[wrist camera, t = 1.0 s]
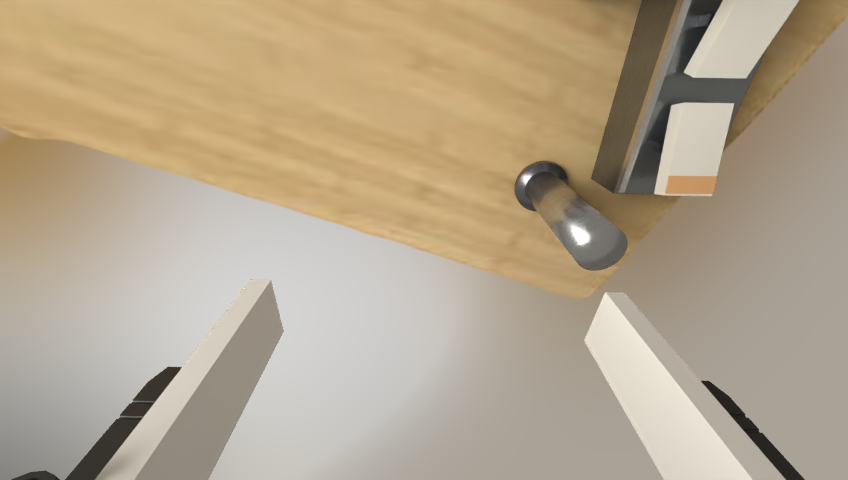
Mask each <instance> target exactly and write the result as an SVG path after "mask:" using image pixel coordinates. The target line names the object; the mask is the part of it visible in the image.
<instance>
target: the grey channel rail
mask: <svg viewBox="0 0 848 480" xmlns="http://www.w3.org/2000/svg"><path fill="white" fill-rule="evenodd" d="M722 1H723V0H642V3H641V7H640V10H639V14H638V17H637V20H636V24H635V27H634V31H633V34H632V38H631V41H630V45H629V48H628V52H627V55H626V59H625V62H624V66H623V69H622V73H621V76H620V80H619V83H618V87H617V90H616V94H615V97H614V101H613V104H612V108H611V111H610V115H609V118H608V122H607V125H606V129H605V132H604V136H603V139H602V143H601V146H600V150H599V153H598V156H597V160H596V163H595V167H594V170H593V174H592V177H591V179H593V180H594V181H596V182H597V183H599V184H600V185H602V186H603V187H605V188H606V189H608V190H609V191H611V192H612V193H621V194H654V191H655V186H656V181H657V176H658V171H659V166H660V161H661V156H662V150H663V145H664V140H665V135H666V130H667V125H668V120H669V115H670V110H671V105H675V104H679V103H734V107H733V111H732V115H731V119H730V124H729V128H730V126H731V123H732V121H733V119H734V117H735V115H736V113H737V111H738V109H739V106H740V104H741V102H742V100H743V98H744V96H745V94H746V92H747V90H748V87H749V85H750V83H751V81H752V79H753V77H754V75H755V73H756V70H757V68H758V66H759V64H760V62H761V60H762V58H763V56H764V54H765V51H766V50H765V51H764V53H763V54H762V56H761V57H760V59H759V60H758V61H757V63H756V64H755V66H754V67H753V69H752V70H751V72H750V73H749V75H748V76H747V78H693V77H691V76H690V75H688V74H686V73H684V71H685V69H686V67H687V65H688V63H689V62H690V60H691V58H692V56H693V54H694V52H695V51H696V49H697V47H698V45H699V43H700V41H701V40H702V38H703V36H704V34H705V32H706V30H707V29H708V27H709V25H710V23H711V21H712V20H713V18H714V16H715V14H716V12H717V10H718V9H719V7H720V5H721V3H722ZM766 49H767V48H766ZM729 128H728V130H729Z"/></svg>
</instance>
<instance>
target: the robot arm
mask: <svg viewBox="0 0 848 480" xmlns="http://www.w3.org/2000/svg"><path fill="white" fill-rule="evenodd" d="M282 333H283V327H282V323H281V320H280V315H279V311H278V307H277V303H276V299H275V295H274V291H273V287H272V283H271V280H254V279H251V280H250V281H249V282H248V284H247V285H246V286H245V287H244V289H243V290H242V291H241V292H240V294H239V295H238V296H237V298H236V299H235V300H234V302H233V303H232V304H231V305H230V307H229V308H228V309H227V310H226V312H225V313H224V314H223V316H222V317H221V318H220V319H219V321H218V322H217V323H216V325H215V326H214V327H213V328H212V330H211V331H210V333H209V334H208V335H207V336H206V338H205V339H204V340H203V341H202V343H201V344H200V346H198V348H197V349H196V350H195V352H194V353H193V354H192V355H191V357H190V358H189V359H188V361H187V362H186V363H185V364H184V366H183V367H167V368H166V369H165V370H163V371H162V372H161V373H159V374H158V375H157V376H155V377H154V378H153V379H151V380H150V381H149V382H148V383H147V384H146V385H145V386H144V387H143V389H142V390H141V391H140V392H139V393H138V394H137V396H136V397H135V398H134V399H133V402H132V403H131V404H129V405H128V406H127V407H126V409H125V410H124V411H123V412H122V414H120V418H119V419H116V420H115V422H114V423H113V424H112V425H111V426H110V428H109V429H108V430H107V431H106V432H105V433H104V435H103V436H102V437H101V438H100V439H99V440H98V442H97V443H96V444H95V445H94V446H93V447H92V449H91V450H90V451H89V452H88V454H87V455H86V456H85V457H84V458H83V459H82V460H81V462H80V463H79V464H78V465H77V466H76V468H75V469H74V470H73V471H72V472H71V473H70V475H69V476H68V477H67V478H66V479H65V480H208V478H209V477H210V475H211V473H212V471H213V468H214V467H215V465H216V463H217V461H218V459H219V457H220V455H221V453H222V451H223V449H224V447H225V445H226V443H227V441H228V439H229V438H230V436H231V434H232V432H233V430H234V428H235V426H236V424H237V422H238V420H239V418H240V416H241V414H242V412H243V410H244V408H245V406H246V404H247V402H248V400H249V398H250V396H251V394H252V392H253V390H254V388H255V386H256V384H257V383H258V381H259V379H260V377H261V375H262V373H263V371H264V369H265V367H266V365H267V363H268V361H269V359H270V357H271V355H272V353H273V351H274V349H275V347H276V345H277V343H278V341H279V339H280V337H281V335H282ZM584 341H585V343H586V345H587V346H588V348H589V350H590V352H591V353H592V355H593V356H594V359H595V360H596V362H597V364H598V366H599V367H600V369H601V371H602V373H603V374H604V376H605V378H606V380H607V381H608V383H609V385H610V386H611V388H612V390H613V392H614V393H615V395H616V397H617V399H618V400H619V402H620V404H621V405H622V407H623V409H624V411H625V413H626V414H627V416H628V418H629V420H630V421H631V423H632V425H633V427H634V428H635V430H636V432H637V433H638V435H639V437H640V439H641V441H642V442H643V444H644V446H645V448H646V449H647V451H648V452H649V454H650V456H651V458H652V460H653V461H654V463H655V465H656V467H657V468H658V470H659V472H660V474H661V475H662V477H663V479H664V480H804V478H803V477H802V476H801V475H800V474H799V473H798V472H797V471H796V470H795V469H794V467H793V466H792V465H791V464H790V463H789V462H788V461H787V460H786V459H785V458H784V456H783V455H782V454H781V453H780V452H779V451H778V450H777V449H776V448H775V447H774V446H773V444H772V443H771V442H770V441H769V440H768V439H767V438H766V437H765V436H764V434H763V433H760V432H759V429H758V428H757V427H756V426H755V425H754V423H753V422H752V421H751V420H750V419H749V418H746V417H745V414H744V412H743V411H742V410H741V409H740V408H739V407H738V406H737V405H736V404H735V403H734V401H733V400H732V399H731V398H730V397H729V396H728V395H726V394H725V393H724V392H723V391H721V390H720V389H718V388H717V387H716V386H715V385H713V384H712V383H711V382H709V381H700V380H699V379H698V377H697V376H696V375H695V374H694V373H693V372H692V370H691V369H690V368H689V367H688V366H687V365H686V363H685V362H684V361H683V360H682V359H681V358H680V357H679V355H678V354H677V353H676V352H675V351H674V350H673V348H672V347H671V346H670V345H669V344H668V343H667V342H666V340H665V339H664V338H663V337H662V336H661V335H660V333H659V332H658V331H657V330H656V329H655V328H654V326H653V325H652V324H651V323H650V322H649V321H648V319H647V318H646V317H645V316H644V315H643V314H642V313H641V311H640V310H639V309H638V308H637V307H636V306H635V304H634V303H633V302H632V301H631V300H630V299H629V297H628V296H627V295H626V294H625V293H617V292H605V294H604V297H603V299H602V301H601V303H600V306H599V308H598V310H597V313H596V315H595V317H594V319H593V322H592V324H591V326H590V329H589V331H588V333H587V335H586V338H585V340H584ZM12 480H60V479H58V478H57V477H56V476H55V475H53V474H51V473H49V472H47V471H39V472H30V473H27V474H25V475H22V476H20V477H17V478H14V479H12Z"/></svg>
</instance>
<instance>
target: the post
mask: <svg viewBox="0 0 848 480" xmlns="http://www.w3.org/2000/svg"><path fill="white" fill-rule="evenodd" d="M567 185H568V181H567V176H566V174H565V172H564V170H563V169H562V168H561V167H559V166H558V165H557V164H555V163H553V162H549V161H539V162H535V163H533V164H531V165H529V166H527V167H526V168H525V169H524V170H523V171H522V172H521V173H520V174H519V176H518V178H517V180H516V183H515V195H516V198H517V199H518V201H519V202H520V204H521V205H522V206H523V207H525V208H527V209H529V210H532V211H538V213H539V214H540V215H541V217H542V218H543V219H544V220H545V222H546V223H547V224H548V226H549V227H550V228H551V229H552V231H553V232H554V233H555V235H556V236H557V237H558V238H559V240H560V241H561V242H562V244H563V245H564V246H565V247H566V249H567V250H568V251H569V253H570V254H571V255H572V256H573V258H574V259H575V260H576V262H577V263H578V264H579V265H580V266H581V267H582V268H584V269H587V270H602V269H605V268H608V267H610V266H612V265H614V264H615V263H616V262H618V261H619V260H620V259H621V258H622V256H623V255H624V253H625V251H626V249H627V238H626V236H625V234H624V233H623V232H622V231H621V230H620V229H619V228H617V227H616V226H615V225H614V224H613V223H611V222H610V221H609V220H608V219H607V218H605V217H604V216H603V215H602V214H601V213H599V212H598V211H597V210H596V209H595V208H594V207H592V206H591V205H590V204H589V203H588V202H586V201H585V200H584V199H583V198H582V197H580V196H579V195H578V194H577V193H576V192H574V191H573V190H572V189H571V188H570V187H569V186H567Z"/></svg>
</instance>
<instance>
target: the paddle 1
mask: <svg viewBox="0 0 848 480" xmlns="http://www.w3.org/2000/svg"><path fill="white" fill-rule="evenodd" d="M733 107H734V103H679V104H675V105H671V110H670V115H669V120H668V125H667V130H666V135H665V140H664V145H663V150H662V156H661V161H660V166H659V171H658V176H657V181H656V186H655V191H654V194H658V195H667V196H712V194H713V193H714V189H715V185H716V181H717V173H718V169H719V165H720V160H721V157H722V152H723V148H724V144H725V140H726V136H727V132H728V128H729V124H730V119H731V115H732V111H733Z"/></svg>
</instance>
